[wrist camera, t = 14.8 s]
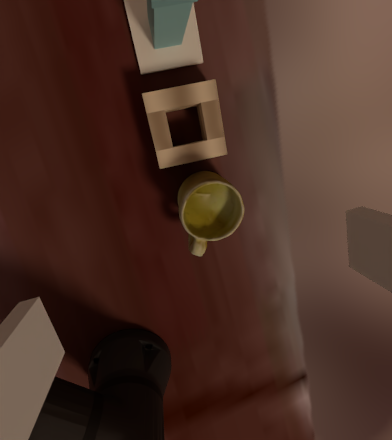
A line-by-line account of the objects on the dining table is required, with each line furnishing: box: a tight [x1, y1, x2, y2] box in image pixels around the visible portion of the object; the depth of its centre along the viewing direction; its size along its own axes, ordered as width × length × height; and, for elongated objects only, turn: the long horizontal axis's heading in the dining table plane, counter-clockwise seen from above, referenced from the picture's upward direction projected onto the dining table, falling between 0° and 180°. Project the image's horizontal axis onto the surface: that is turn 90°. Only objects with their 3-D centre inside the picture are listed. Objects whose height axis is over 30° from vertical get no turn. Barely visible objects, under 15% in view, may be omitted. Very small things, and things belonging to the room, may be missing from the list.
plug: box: [147, 0, 198, 49], centre depth 30 cm, size 4×4×14 cm
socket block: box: [142, 79, 227, 169], centre depth 39 cm, size 10×10×4 cm
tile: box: [124, 0, 203, 75], centre depth 36 cm, size 9×9×1 cm
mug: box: [178, 171, 244, 256], centre depth 41 cm, size 12×10×10 cm
